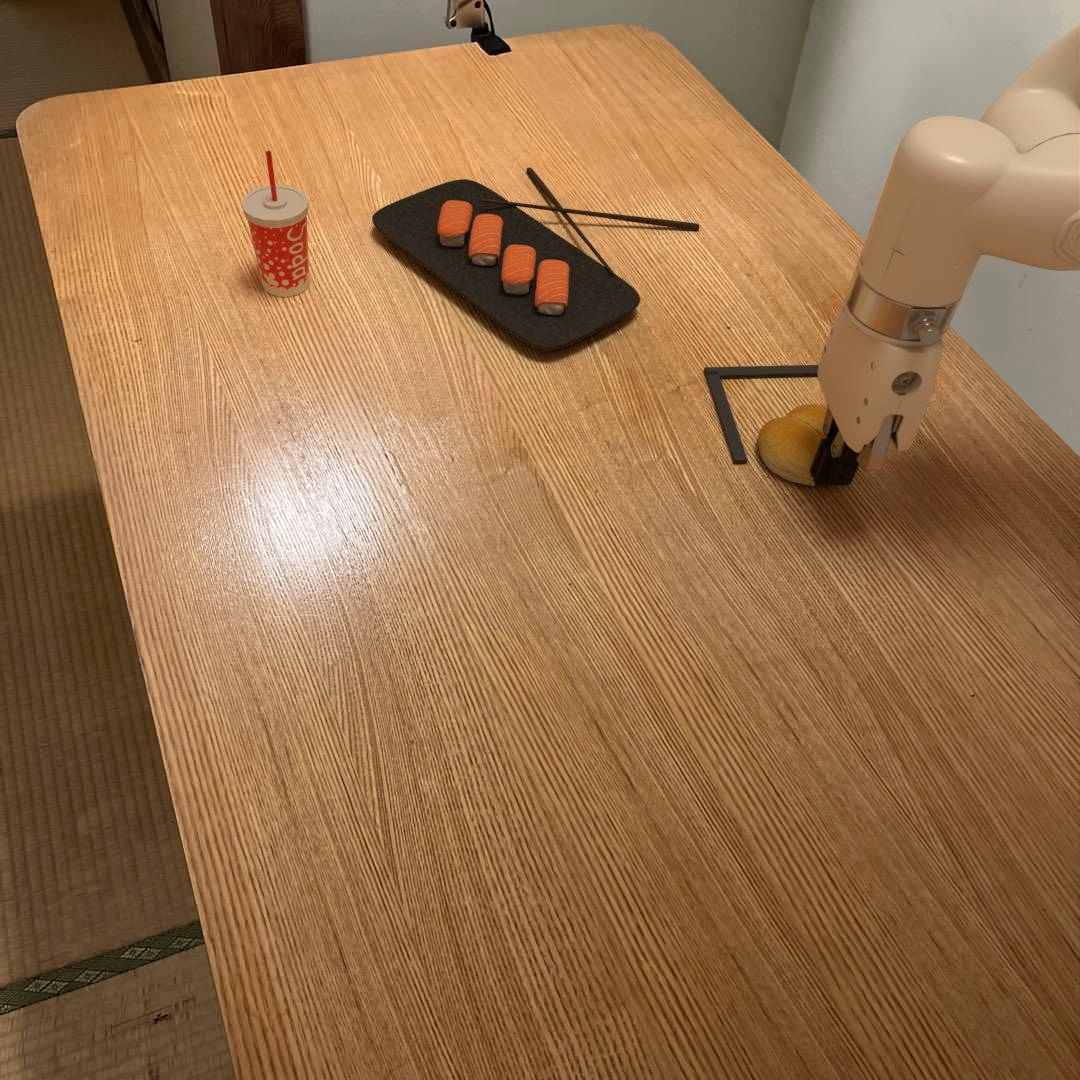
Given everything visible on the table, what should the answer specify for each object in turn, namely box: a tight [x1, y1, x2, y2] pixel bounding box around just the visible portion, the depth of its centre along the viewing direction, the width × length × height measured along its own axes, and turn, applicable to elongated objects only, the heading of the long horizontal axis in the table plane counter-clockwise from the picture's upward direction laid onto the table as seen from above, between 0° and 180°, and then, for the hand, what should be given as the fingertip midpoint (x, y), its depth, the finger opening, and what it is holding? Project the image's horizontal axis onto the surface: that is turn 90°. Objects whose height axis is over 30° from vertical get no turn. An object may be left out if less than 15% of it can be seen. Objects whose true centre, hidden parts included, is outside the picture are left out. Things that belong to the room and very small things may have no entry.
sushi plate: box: [371, 167, 700, 351], centre depth 113 cm, size 29×30×4 cm
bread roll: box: [757, 403, 828, 487], centre depth 94 cm, size 8×9×4 cm
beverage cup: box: [241, 150, 310, 298], centre depth 102 cm, size 6×6×14 cm
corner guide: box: [703, 364, 819, 465], centre depth 99 cm, size 14×13×1 cm
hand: (829, 479), depth 90 cm, fingers closed
